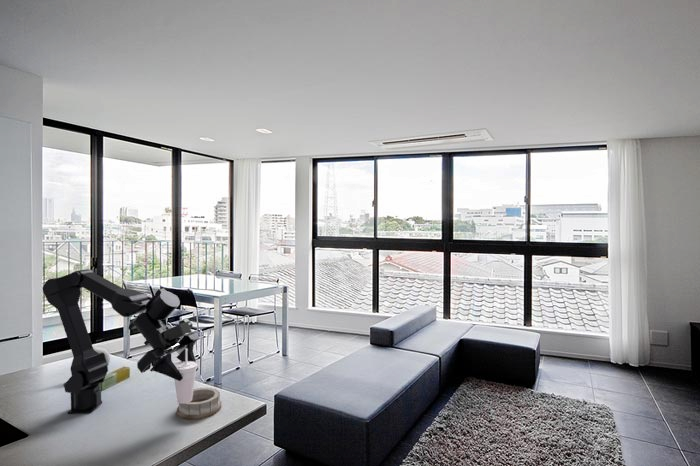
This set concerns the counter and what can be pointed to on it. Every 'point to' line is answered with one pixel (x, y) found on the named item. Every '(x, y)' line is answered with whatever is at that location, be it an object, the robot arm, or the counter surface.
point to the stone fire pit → (200, 404)
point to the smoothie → (185, 380)
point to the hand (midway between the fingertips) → (189, 375)
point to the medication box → (115, 377)
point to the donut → (104, 353)
